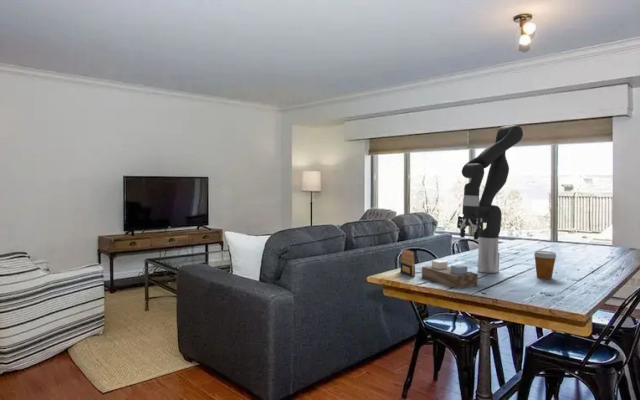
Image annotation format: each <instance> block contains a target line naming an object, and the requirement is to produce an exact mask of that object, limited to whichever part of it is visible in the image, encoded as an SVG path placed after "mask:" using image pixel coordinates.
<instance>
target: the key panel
mask: <svg viewBox="0 0 640 400" xmlns="http://www.w3.org/2000/svg"><path fill="white" fill-rule="evenodd" d="M478 277H479V274H478V273H475V272H471V271H468V270H467V274H461V275H458V274H454V273H451V266H448V265H447V269H436V268H432V265H428V266H421V278H422V279H425V280H428V281H432V282H435V283H439V284H441V285H445V286H447V287H448V286H449V287H450V288H454V289H461V288H469V287H477V286H479V285H478V284H479V283H478V279H479V278H478Z"/></svg>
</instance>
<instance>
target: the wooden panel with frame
mask: <svg viewBox="0 0 640 400" xmlns="http://www.w3.org/2000/svg"><path fill="white" fill-rule="evenodd" d="M399 271H400V273H401V274H402V275H403V274H404V275H405V276H408V277H410V278H415V277H416V266H415V253H414V250H413V251H412V250H409V249H406V248H404V247H403V248H402V250H401V261H400V270H399Z"/></svg>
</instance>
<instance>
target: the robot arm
mask: <svg viewBox="0 0 640 400" xmlns="http://www.w3.org/2000/svg"><path fill="white" fill-rule="evenodd" d="M523 136H524V132H523V128H522V127H521V126H520V125H516V124H513V125H504V126H501V127H499V128H498V129H497V132H496V136H495V141H494V142H495V143H493V144H491V145H489V146H488V147H486V148H485V149H484V150H483V151H481V152H480V153H479V154H478V156H476V157H474V158H473V159H471V160H469V161H468V162H466V163H465V164H464V165H463V167H462V169H461V174H462V176H463V177H464V178H465V179H470V181H469V182H468V183H465V184H464V190H463V197H462V198H463V199H462V210H461V211H462V215H458V216H457V223H456V228H457V229H459V230H460V233H459V236H460V237H459V238H461V239H462V238H465V237H466V229H467V227H468V226H469V227H471V228H472V229H473V240H476V241H477V240H478V249H477V251H478V252H477V254H478V257H477V271H478V272H481V273H486V274H496V273H498V272H500V252H499V238H500V237H499V235H500V232H501V226H502V209H501V207H500V206H498V205H494V204H492V203H493V201H494V199H495V197H496V196H497V194H498V193H499V192H500V190H501V189H502V188H503V187H504V186H505V185H506V183H507V180H508V176H509V173H510V167H509V163H508V160H507V157H506V152H507V151H508V150H509V149H511V148H512V147H514V146H516V145H517V144H518V143H519V142H521V140H522V139H523V138H524V137H523ZM488 167H489V169H488V171H487V173H488V174H487V177H486V180H485V185H484V188H483V191H482V195H481V197H480V187H481V185H482V182H483V179H484V176H485V169H486V168H488ZM484 224H486V225H485V228H484Z"/></svg>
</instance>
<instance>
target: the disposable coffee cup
mask: <svg viewBox="0 0 640 400" xmlns="http://www.w3.org/2000/svg"><path fill="white" fill-rule="evenodd" d="M533 255H534V260H535V262H534V263H535V271H536V278H538V279H544V280H551V278H553V273H554V268H555V263H556V258H557V254H556V252H553V251H548V250H546V251H545V250H536V251H535V250H534V253H533Z"/></svg>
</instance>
